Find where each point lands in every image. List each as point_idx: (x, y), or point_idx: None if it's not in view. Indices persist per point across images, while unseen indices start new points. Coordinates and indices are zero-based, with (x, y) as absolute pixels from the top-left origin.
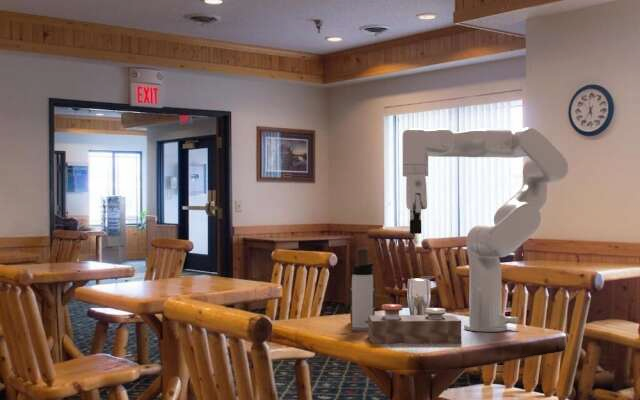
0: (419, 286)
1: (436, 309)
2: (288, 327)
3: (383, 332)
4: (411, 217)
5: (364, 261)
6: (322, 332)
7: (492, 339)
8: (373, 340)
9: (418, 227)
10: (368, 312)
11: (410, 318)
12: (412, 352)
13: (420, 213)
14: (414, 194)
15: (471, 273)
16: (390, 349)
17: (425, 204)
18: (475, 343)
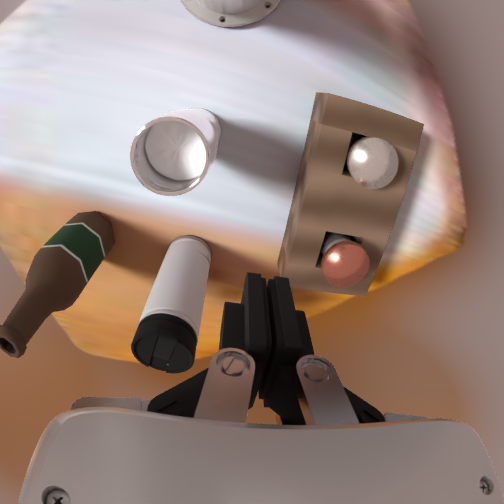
0: (212, 161)
1: (380, 162)
2: None
3: None
4: (279, 420)
5: (35, 317)
6: (211, 322)
7: (373, 34)
8: None
9: (306, 325)
10: (205, 268)
11: (357, 216)
12: (440, 235)
13: (349, 410)
14: None
15: None
16: (408, 258)
17: (480, 452)
18: (408, 92)
